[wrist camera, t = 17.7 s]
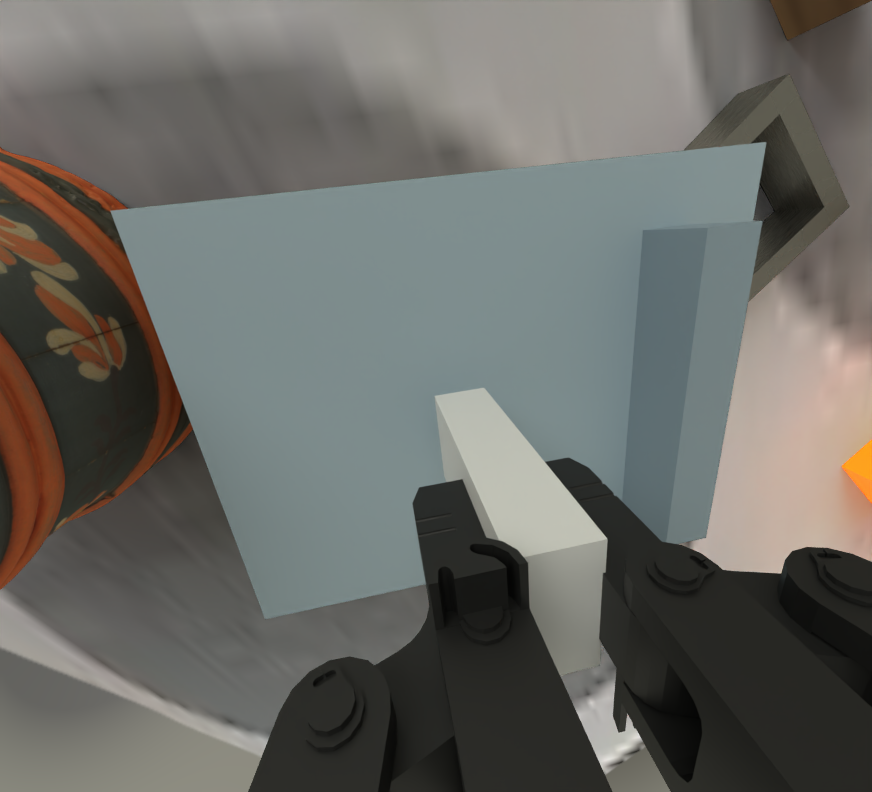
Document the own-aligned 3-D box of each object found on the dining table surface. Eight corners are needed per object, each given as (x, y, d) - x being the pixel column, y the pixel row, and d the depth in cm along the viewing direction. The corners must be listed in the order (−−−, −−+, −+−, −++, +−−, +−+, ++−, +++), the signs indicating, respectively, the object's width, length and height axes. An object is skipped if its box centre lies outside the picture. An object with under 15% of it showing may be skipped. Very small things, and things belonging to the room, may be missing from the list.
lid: (272, 593, 16) (247, 687, 13) (135, 213, 11) (32, 201, 8) (680, 506, 18) (754, 568, 15) (732, 150, 13) (863, 118, 10)
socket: (693, 311, 23) (730, 319, 20) (623, 213, 20) (656, 210, 18) (797, 210, 22) (849, 206, 19) (737, 93, 19) (789, 73, 17)
